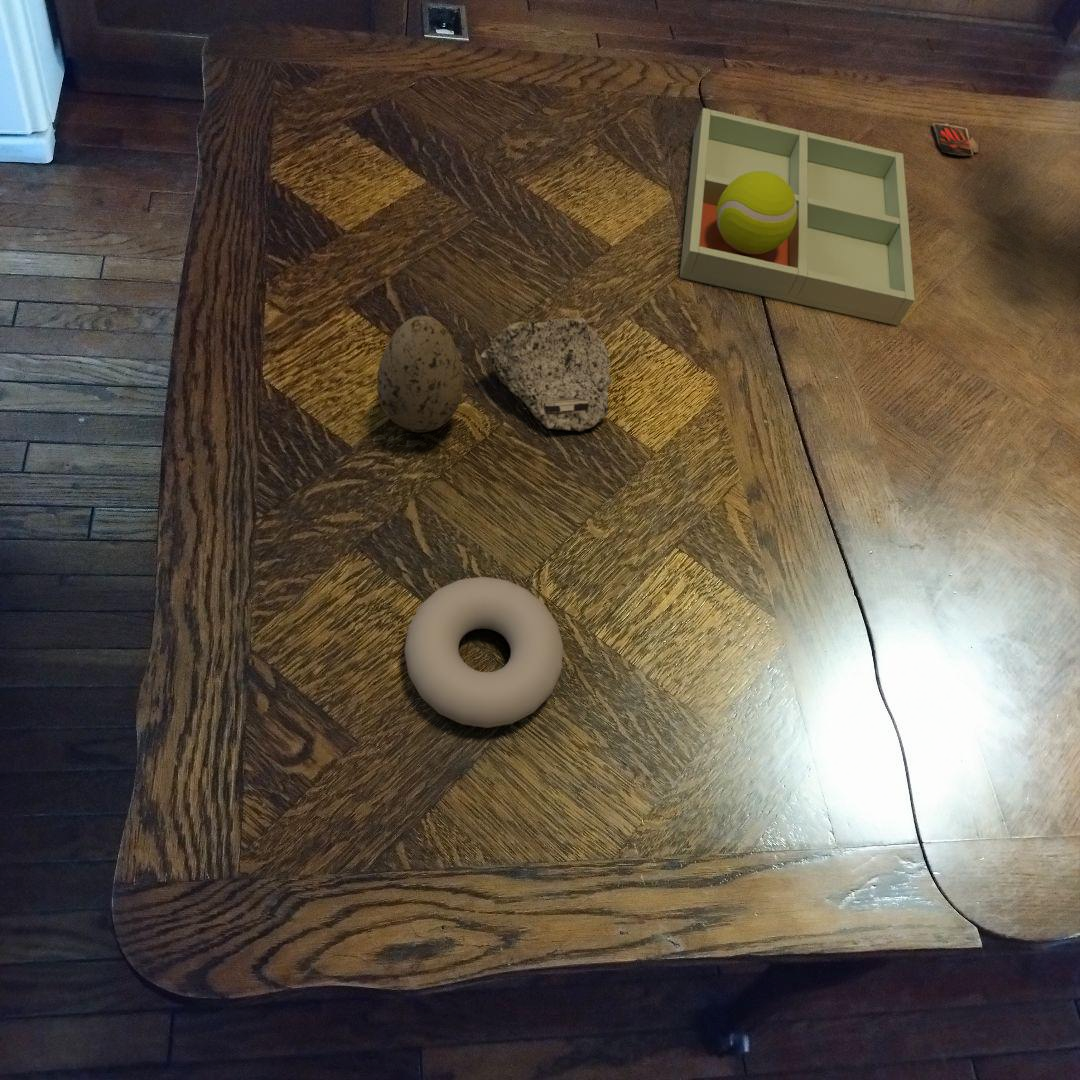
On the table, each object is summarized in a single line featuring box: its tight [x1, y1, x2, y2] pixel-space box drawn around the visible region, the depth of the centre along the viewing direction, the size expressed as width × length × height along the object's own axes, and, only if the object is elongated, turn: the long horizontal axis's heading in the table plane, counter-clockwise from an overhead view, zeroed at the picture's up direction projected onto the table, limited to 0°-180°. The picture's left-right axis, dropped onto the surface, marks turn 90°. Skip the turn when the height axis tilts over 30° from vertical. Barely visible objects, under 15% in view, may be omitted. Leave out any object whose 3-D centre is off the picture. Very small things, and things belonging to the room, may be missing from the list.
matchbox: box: [929, 122, 981, 157], centre depth 100 cm, size 5×5×1 cm
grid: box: [679, 107, 916, 327], centre depth 88 cm, size 19×19×3 cm
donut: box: [404, 576, 564, 729], centre depth 62 cm, size 10×4×10 cm
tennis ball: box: [716, 171, 797, 255], centre depth 83 cm, size 7×7×7 cm
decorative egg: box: [376, 315, 464, 433], centre depth 68 cm, size 6×6×10 cm
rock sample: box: [480, 313, 613, 432], centre depth 74 cm, size 10×8×9 cm
